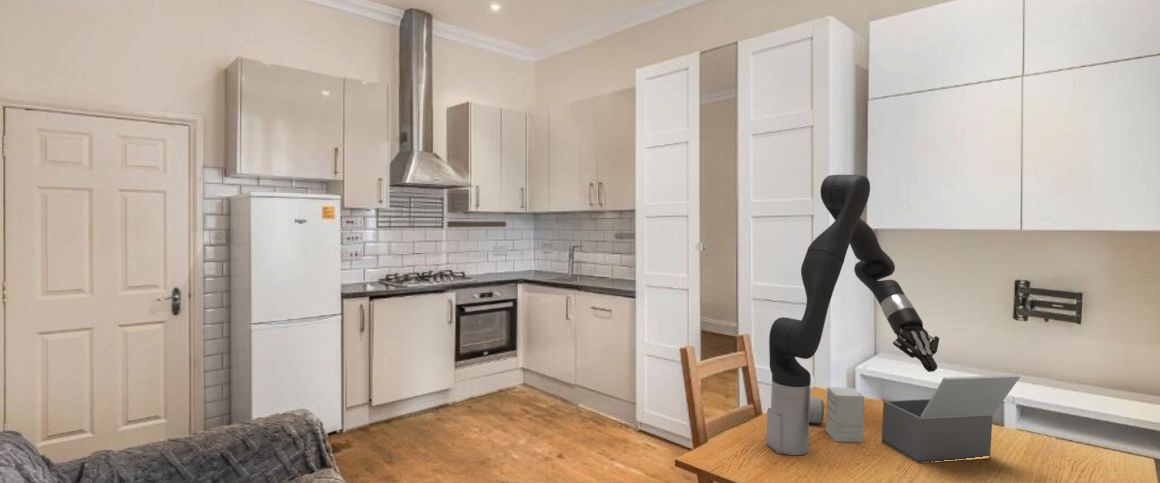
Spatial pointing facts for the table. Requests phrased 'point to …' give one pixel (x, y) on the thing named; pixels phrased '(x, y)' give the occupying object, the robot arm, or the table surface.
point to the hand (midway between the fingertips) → (932, 370)
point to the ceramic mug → (816, 410)
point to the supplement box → (845, 414)
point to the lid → (969, 395)
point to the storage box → (934, 433)
